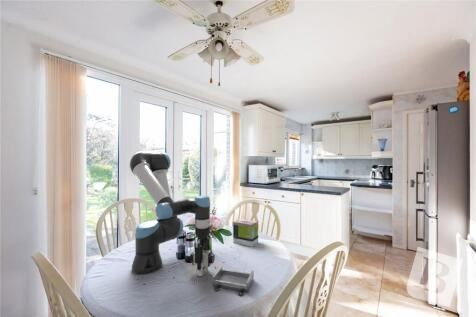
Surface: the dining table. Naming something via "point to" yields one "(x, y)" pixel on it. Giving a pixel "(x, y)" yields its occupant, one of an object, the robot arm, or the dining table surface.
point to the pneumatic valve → (204, 259)
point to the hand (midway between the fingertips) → (202, 272)
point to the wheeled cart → (233, 281)
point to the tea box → (245, 232)
